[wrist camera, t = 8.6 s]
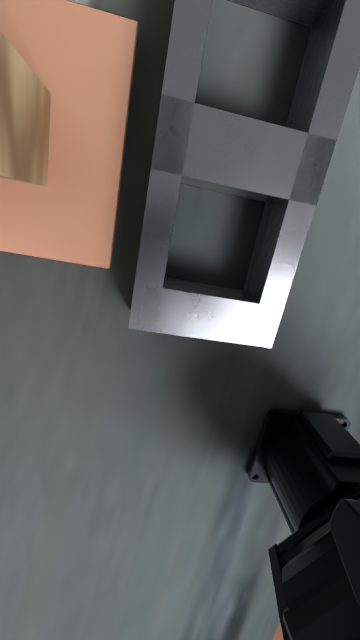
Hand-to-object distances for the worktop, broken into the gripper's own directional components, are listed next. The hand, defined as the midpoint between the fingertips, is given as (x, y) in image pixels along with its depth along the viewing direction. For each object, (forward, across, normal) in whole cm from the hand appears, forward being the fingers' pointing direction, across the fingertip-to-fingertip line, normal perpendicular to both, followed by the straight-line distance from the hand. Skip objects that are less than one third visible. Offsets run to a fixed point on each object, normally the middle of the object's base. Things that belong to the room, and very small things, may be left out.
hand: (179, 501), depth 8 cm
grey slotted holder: (+12, -2, -10) cm, 16 cm away
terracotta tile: (+12, +9, -9) cm, 17 cm away
